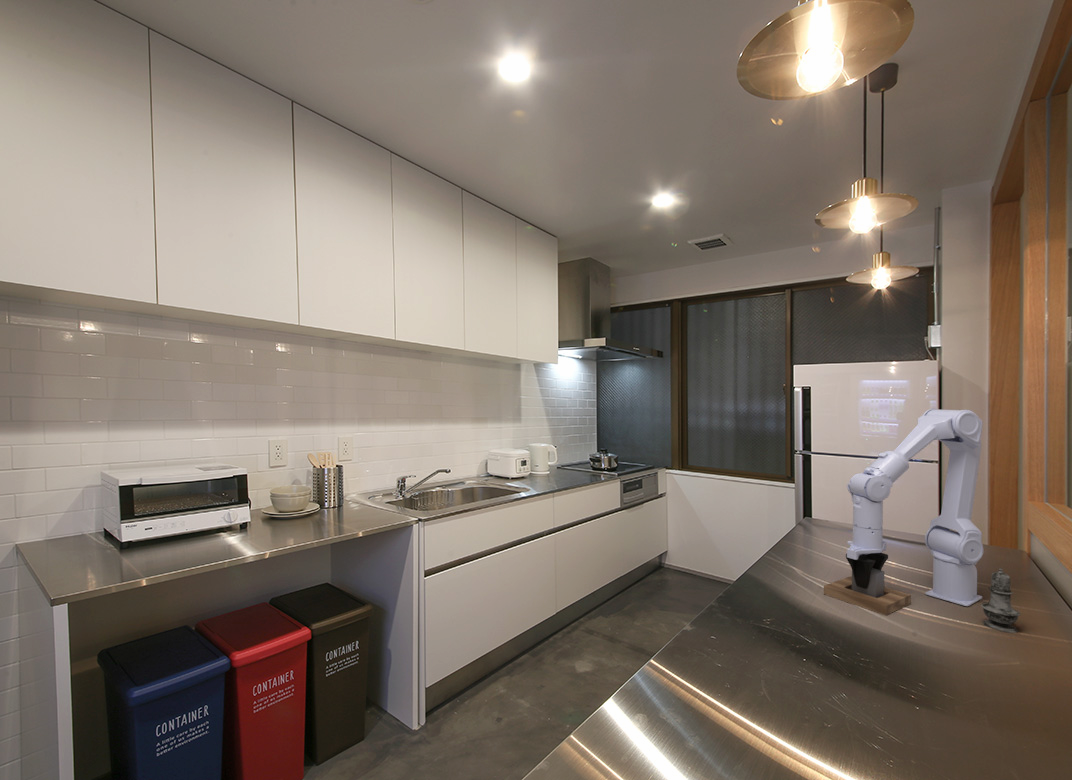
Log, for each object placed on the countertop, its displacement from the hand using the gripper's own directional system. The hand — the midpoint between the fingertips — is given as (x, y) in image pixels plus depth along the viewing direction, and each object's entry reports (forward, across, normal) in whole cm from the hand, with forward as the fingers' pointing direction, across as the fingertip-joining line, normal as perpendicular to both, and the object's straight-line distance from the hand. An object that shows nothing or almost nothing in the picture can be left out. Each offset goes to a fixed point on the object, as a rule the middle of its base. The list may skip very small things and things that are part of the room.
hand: (866, 585), depth 115 cm
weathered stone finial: (+3, -9, +21) cm, 23 cm away
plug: (+2, 0, 0) cm, 2 cm away
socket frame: (+3, 0, 0) cm, 3 cm away
